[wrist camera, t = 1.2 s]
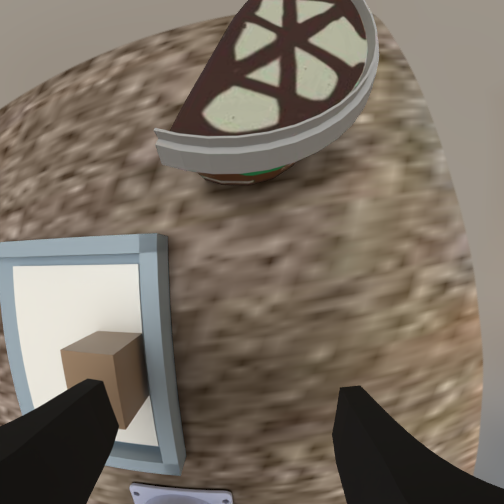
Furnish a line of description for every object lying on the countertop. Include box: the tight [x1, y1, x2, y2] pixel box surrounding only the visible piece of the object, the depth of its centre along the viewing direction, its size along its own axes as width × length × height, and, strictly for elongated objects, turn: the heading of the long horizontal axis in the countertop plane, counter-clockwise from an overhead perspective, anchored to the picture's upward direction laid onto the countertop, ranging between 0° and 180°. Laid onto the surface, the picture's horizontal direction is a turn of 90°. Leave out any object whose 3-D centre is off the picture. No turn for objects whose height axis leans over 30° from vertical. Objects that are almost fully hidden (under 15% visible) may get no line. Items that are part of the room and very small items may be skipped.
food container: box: [154, 0, 379, 185], centre depth 14 cm, size 12×6×10 cm, turn 158°
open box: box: [0, 233, 186, 476], centre depth 17 cm, size 15×14×2 cm
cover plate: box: [13, 264, 159, 446], centre depth 15 cm, size 12×10×5 cm
